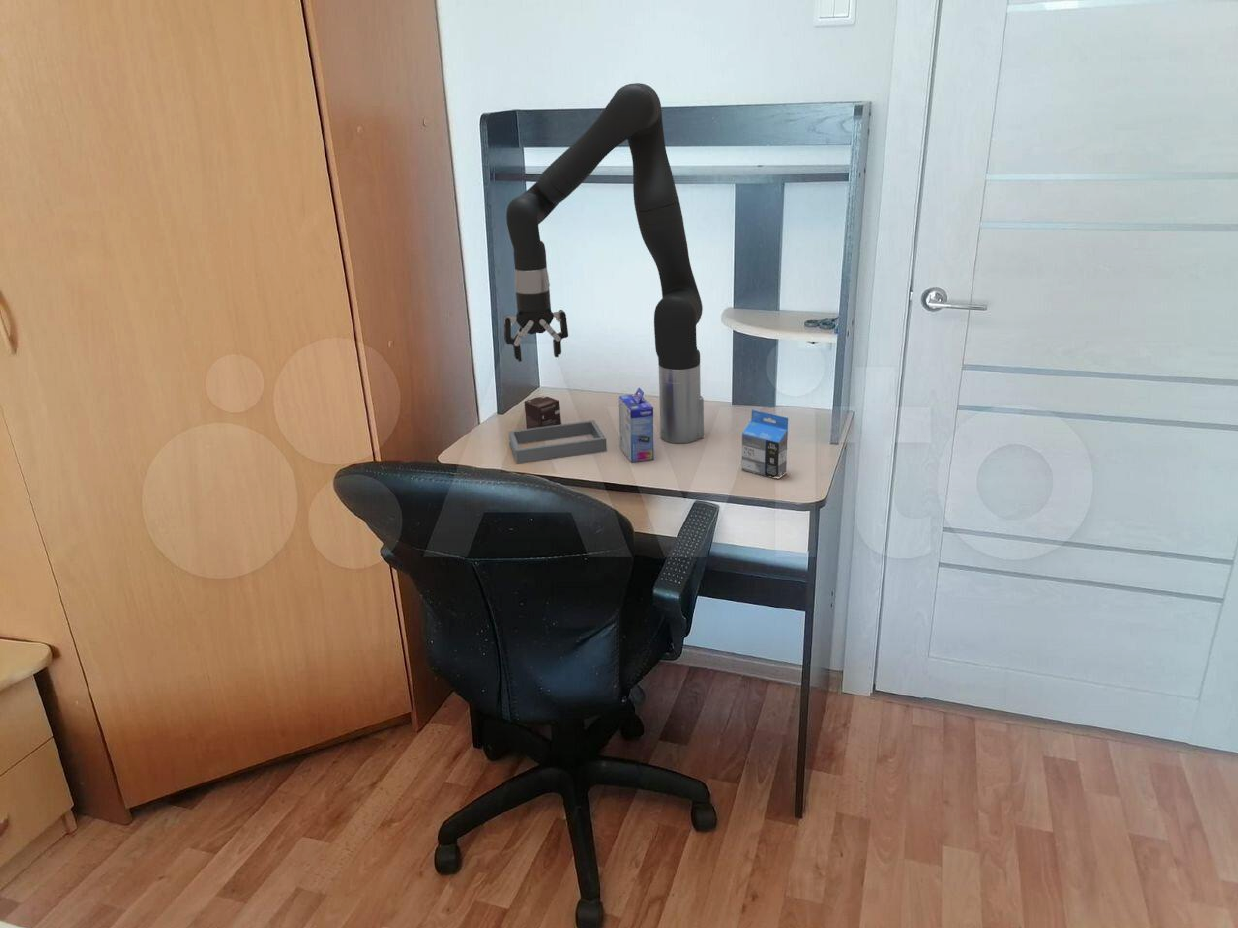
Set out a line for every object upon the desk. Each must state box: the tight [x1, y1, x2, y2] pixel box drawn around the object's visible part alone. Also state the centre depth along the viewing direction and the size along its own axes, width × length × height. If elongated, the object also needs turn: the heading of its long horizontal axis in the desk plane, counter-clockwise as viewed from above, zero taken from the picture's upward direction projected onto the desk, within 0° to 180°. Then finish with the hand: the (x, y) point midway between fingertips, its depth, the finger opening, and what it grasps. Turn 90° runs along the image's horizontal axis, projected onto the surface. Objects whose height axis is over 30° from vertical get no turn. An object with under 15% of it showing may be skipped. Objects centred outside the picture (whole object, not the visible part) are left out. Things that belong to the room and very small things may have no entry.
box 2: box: [507, 419, 608, 464], centre depth 203 cm, size 20×12×3 cm, turn 104°
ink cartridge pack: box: [741, 409, 789, 477], centre depth 185 cm, size 9×4×12 cm, turn 51°
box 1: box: [524, 395, 562, 429], centre depth 213 cm, size 6×6×7 cm
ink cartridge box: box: [618, 387, 655, 463], centre depth 196 cm, size 10×6×14 cm, turn 16°
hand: (538, 358), depth 207 cm, fingers open, 8 cm apart
